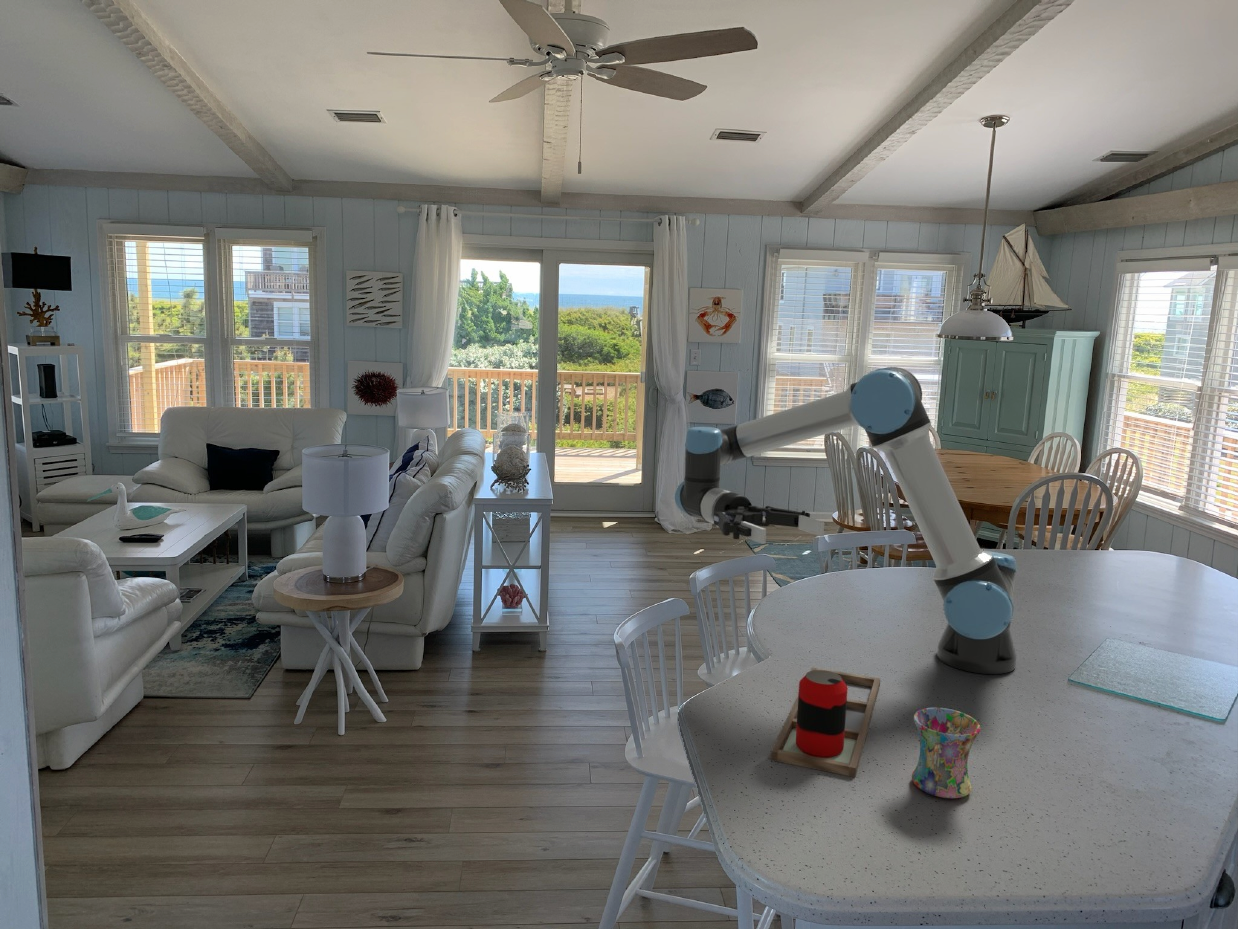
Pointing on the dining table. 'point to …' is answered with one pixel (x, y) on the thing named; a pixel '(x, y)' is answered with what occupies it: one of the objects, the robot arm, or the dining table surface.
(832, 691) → the soda can
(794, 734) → the frame
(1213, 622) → the dining table surface
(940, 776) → the mug
